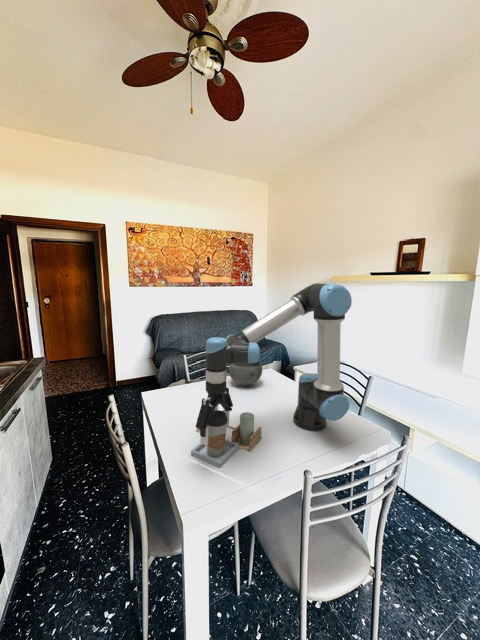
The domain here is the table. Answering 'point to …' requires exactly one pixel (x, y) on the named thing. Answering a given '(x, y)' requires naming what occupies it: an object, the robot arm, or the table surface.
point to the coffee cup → (216, 433)
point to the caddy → (252, 439)
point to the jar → (246, 427)
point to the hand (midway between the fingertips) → (215, 434)
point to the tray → (213, 461)
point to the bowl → (245, 373)
